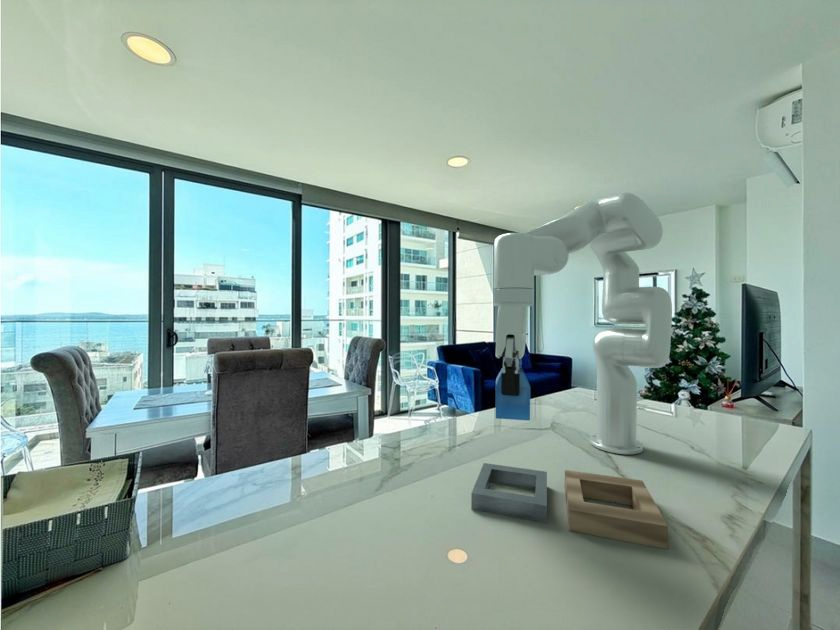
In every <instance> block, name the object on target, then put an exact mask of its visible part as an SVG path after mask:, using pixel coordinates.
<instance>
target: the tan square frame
mask: <svg viewBox="0 0 840 630" xmlns="http://www.w3.org/2000/svg"><path fill="white" fill-rule="evenodd" d="M564 494H565V502H566V513H567V514H566V515H567V525H568V531H570V532H575V533H580V534H585V535H591V536H596V537H602V538H606V539H613V540H619V541H623V542H627V543H634V544H640V545H644V546H650V547H655V548H660V549H667V550H668V547H669V543H668V542H669V525H668V524H667V521H666V520H665V518H664V517H663V514H662V513H661V511H660V510H659V507H658V506H657V504H656V502H655V500H654V499H653V497H652V495H651V493H650V492H649V490H648V488H647V486H646V484H645V482H644V481H643V480H641V479H635V478H627V477H626V478H625V477H621V476H620V477H619V476H614V475H606V474H597V473H590V472H583V471H576V470H569V469H565V470H564ZM583 497H584V498H583ZM589 498H591V499H590V500H596V499H598V500H597V501H602V500H605V501H604V502H609V501H611V503H615V502H616V504H621V505H623V504H624V505H629V506H631V507H632V508H631V509H630V508H625V507H617V506H612V505H607V504H599V503H595V502H593V503H592V502H589V501H588V502H586V501H584V499H589Z"/></svg>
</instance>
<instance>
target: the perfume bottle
mask: <svg viewBox="0 0 840 630" xmlns="http://www.w3.org/2000/svg"><path fill="white" fill-rule="evenodd" d="M516 354H517V352H516ZM513 357H516V356H514V355H513ZM522 364H523V360H522V358H521V359H519V365H518V374H520V394H519V396H509V395H502V393H501V387H502V369H503V367H502V368H501V369H500V371H499V372H498V374H497V376H496V379H495V419H501V420H511V421H512V420H516V421H529V422H530V421H531V385H530V383H529V381H528V378H527V376H526V374H525V371H524V370H523V368H522V369H520V365H521V366H522Z"/></svg>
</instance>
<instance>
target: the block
mask: <svg viewBox="0 0 840 630" xmlns="http://www.w3.org/2000/svg"><path fill="white" fill-rule="evenodd" d="M492 484H495V485H502V486H508V487H514V488H519V489H521V488H522V489H525V490H527V489H528V490H532V491H535V492H534V493H535V494H534V495H533V496H532V495H527V494H521V493H515V492H509V491H501V490H496V489H490V488H491V486H492ZM470 501H471V507H470V509H471V510H473V511H478V512H484V513H490V514H493V515H494V514H496V515H501V516H505V517H510V518H511V517H512V518H516V519H521V520H528V521H533V522H538V523H544V524H547V523H548V516H547V515H548V512H547V511H548V472H547V471H546V470H545V471H544V470H536V469H530V468H523V467H516V466H507V465H501V464H494V463H487V462H484V463H483V464H482V467H481V469H480V472H479V475H478V476H477V479H476V480H475V483H474V486H473V488H472V490H471V500H470Z"/></svg>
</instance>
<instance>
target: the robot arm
mask: <svg viewBox="0 0 840 630" xmlns="http://www.w3.org/2000/svg"><path fill="white" fill-rule="evenodd" d="M663 230H664V229H663V226H662V222H661V219H660V218H659V216H657V214H656V213H655V212H654V211H653V210H652V209H651V208H650V206H649V205H647V203H646V202H645V201H644V200H643V199H641V198H640V197H639V196H637V195H636V194H633V193H631V192H620V193H616V194H612V195H609V196H604V197H600V198H599V197H598V198H596V199H595V198H594V199H592V200H589V201H586V202H584V203H583V204H580V205H579V206H578V207H575V208H574V209H573V210H571V211H569V212H568V213H567V214H566V213H565V215H563V216H561V217H559V218H557V219H554V220H551V221H549V222H547V223H545V224H543V225H541V226H538V227H535V228H533V229H531V230H528V231H526V232H508V233H503V234H500V235H498V236H496V238H495V239H494V243H493V296H492V299H493V307H497V314H496V315H497V316H496V331H495V332H496V335H495V357H496V359H500V358H501V357H502V368H503V369H502V368H501V369H502V387H501V393H502V395H509V396H519V394H520V374H518V365H519V359H521V360H522V358H523V357H524V356H525V350H526V342H527V323H528V317H527V316H528V307H534V295H535V294H534V290H535V289H534V288H535V287H534V286H535V285H534V284H535V283H534V282H535V280H534V277H535V276H545V275H553V274H556V273H559V272H560V271H562V270H563V269H564V268H565V267H566V265H567V263H568V261H569V254H572V253H575V252H577V251H580V250H581V249H584V248H585V247H587V246H588V245H589V247H590V249H591V250H592V251H593V253H594V255H595V256H596V258H597V260H598V262H599V263H600V266H601V267H602V273H603V282H602V283H603V284H602V298H601V300H602V301H601V313H602V317H603V318H604V320H605V321H607V322H610V323H613V324H628V325H629V324H630V325H631V324H632V325H633V324H635V325H645V328H646V329H642V328H641V329H638V328H625V327H624V328H623V327H622V328H621V327H608V328H604V329H601V330H599V331H598V332H596V334H595V335H594V337H593V341H592V342H593V343H592V347H593V353H594V359H595V365H596V419H595V421H596V422H595V425H596V427H595V430H596V431H595V434H594V435H591V436H590V437H589V443H590V445H591V446H593V447H595V448H596V449H599V450H601V451H605V452H607V453H613V454H619V455H638V454H641V453H643V451H644V446H643V444H642V442H640V441H638V440H637V428H638V426H637V425H638V424H637V417H638V414H637V412H638V411H637V410H638V408H637V407H638V406H637V405H638V384H637V378H636V376H635V375H634V373H633V371H632V369H630V367H629V366H631V367H633V366H634V367H638V368H639V367H641V368H649V369H650V368H651V369H659V368H663V367H664V366H666V365H667V363H668V362H669V359H670V354H671V344H672V343H671V340H672V339H671V338H672V322H673V321H672V318H673V317H672V316H673V303H672V298H671V295H670V294H669V292H668V291H667V290H666V289H665V288H663V287H660V286H640V268H639V266H638V264H637V263H636V261H635V260H634V258H632V257H631V256H630V255H629V254H628V253H627V252H635V251H645V250H650V249H652V248H655V247H656V246H658V245H659V244H660V242H661V240H662V238H663V232H664V231H663ZM516 352H517V354H516ZM513 355H514V356H516V357H513ZM520 369H523V367H522V365H520Z"/></svg>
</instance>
